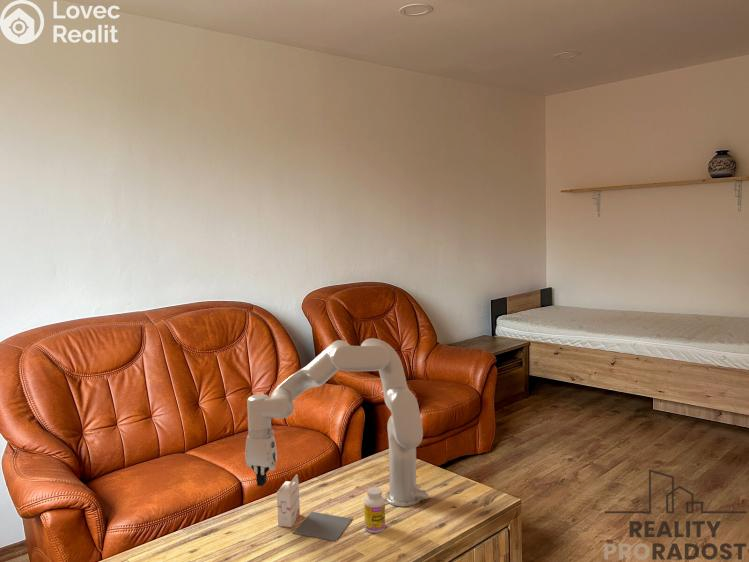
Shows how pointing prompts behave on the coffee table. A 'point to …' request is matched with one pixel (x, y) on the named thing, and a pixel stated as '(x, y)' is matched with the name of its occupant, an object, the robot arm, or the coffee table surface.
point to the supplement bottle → (374, 510)
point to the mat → (323, 526)
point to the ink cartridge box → (288, 503)
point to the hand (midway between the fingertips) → (261, 484)
